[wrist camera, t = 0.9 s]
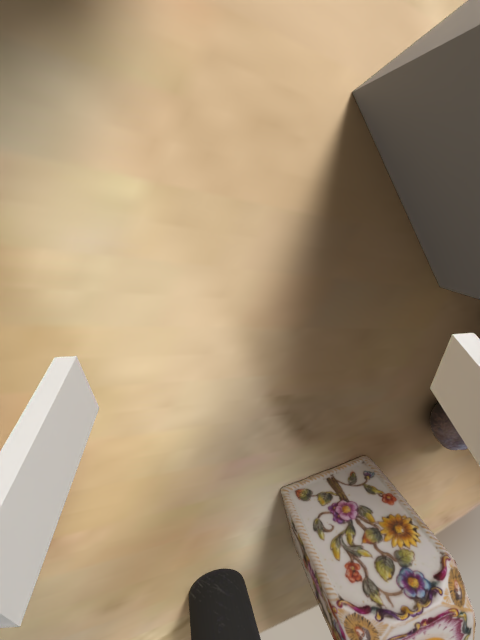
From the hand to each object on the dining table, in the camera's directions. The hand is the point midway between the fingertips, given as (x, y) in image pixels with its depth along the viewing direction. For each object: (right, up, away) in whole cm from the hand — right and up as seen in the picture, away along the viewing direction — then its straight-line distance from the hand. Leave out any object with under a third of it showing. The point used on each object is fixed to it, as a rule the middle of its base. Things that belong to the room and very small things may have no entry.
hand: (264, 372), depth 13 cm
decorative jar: (+10, -21, +31) cm, 39 cm away
